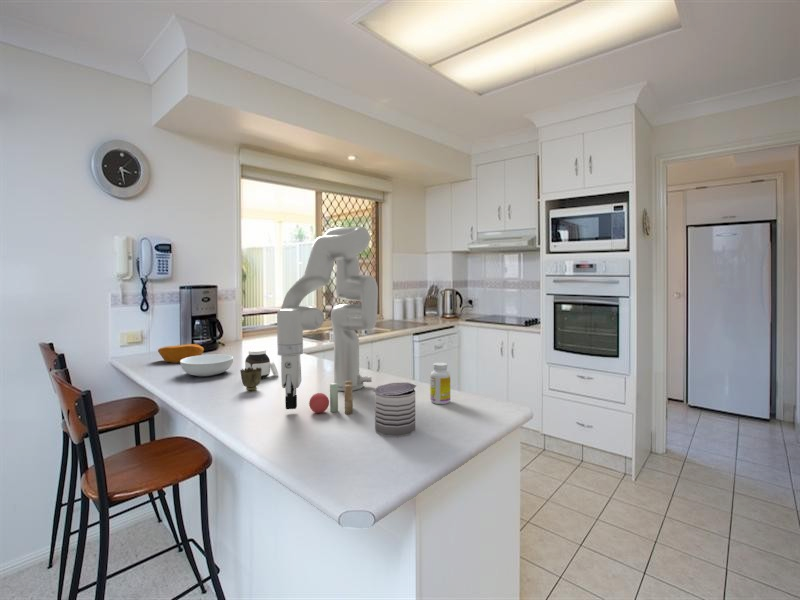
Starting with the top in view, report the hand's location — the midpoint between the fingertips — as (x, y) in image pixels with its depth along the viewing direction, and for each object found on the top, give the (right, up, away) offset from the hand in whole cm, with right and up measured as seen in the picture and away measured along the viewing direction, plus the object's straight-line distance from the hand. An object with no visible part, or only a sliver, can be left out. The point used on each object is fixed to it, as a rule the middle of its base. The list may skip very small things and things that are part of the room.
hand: (291, 408), depth 126 cm
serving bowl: (-50, +1, +52) cm, 72 cm away
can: (+32, -2, -14) cm, 35 cm away
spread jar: (-24, +1, +46) cm, 52 cm away
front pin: (+13, -1, +2) cm, 13 cm away
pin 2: (+17, -1, +5) cm, 18 cm away
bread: (-77, +2, +81) cm, 112 cm away
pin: (+18, -1, 0) cm, 18 cm away
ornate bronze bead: (-21, 0, +25) cm, 33 cm away
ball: (+9, +2, 0) cm, 9 cm away
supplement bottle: (+47, -1, +11) cm, 48 cm away
